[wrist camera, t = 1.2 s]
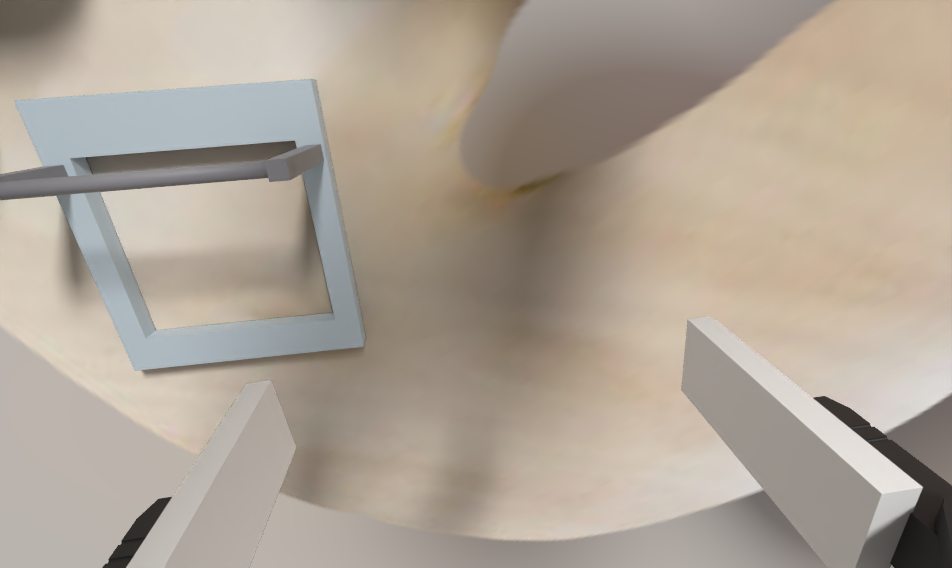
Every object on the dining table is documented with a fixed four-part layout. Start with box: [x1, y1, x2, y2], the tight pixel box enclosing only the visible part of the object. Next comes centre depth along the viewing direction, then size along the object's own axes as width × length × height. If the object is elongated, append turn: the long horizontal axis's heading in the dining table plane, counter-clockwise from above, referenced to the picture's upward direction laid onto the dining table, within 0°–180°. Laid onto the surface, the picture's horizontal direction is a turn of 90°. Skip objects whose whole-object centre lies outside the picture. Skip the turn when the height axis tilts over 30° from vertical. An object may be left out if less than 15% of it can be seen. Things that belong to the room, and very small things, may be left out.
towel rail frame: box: [0, 79, 366, 371], centre depth 32 cm, size 22×20×10 cm
